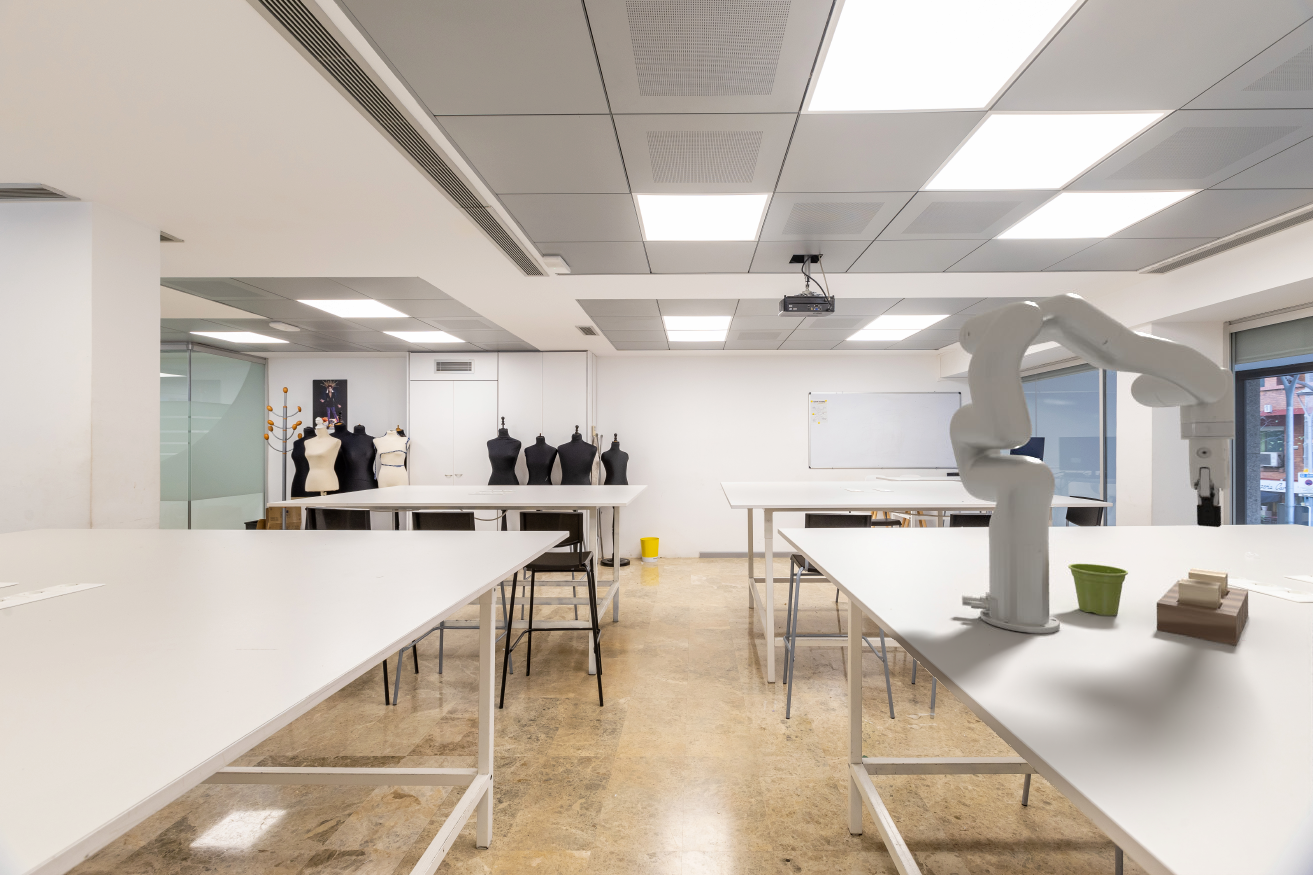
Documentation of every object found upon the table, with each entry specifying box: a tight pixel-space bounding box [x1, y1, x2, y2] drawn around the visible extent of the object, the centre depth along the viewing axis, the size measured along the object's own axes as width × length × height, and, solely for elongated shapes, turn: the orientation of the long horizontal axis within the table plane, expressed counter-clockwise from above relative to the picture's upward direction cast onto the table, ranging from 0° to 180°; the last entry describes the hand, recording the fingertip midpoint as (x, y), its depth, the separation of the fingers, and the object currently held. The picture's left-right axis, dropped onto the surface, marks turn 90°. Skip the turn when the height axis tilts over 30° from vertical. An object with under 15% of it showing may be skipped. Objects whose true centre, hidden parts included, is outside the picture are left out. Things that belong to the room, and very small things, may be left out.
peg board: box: [1156, 579, 1249, 646], centre depth 105 cm, size 24×10×5 cm, turn 130°
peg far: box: [1187, 567, 1229, 596], centre depth 109 cm, size 5×5×5 cm
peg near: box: [1178, 577, 1221, 609], centre depth 101 cm, size 5×5×5 cm
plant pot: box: [1068, 563, 1129, 617], centre depth 112 cm, size 9×9×9 cm
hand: (1209, 525), depth 109 cm, fingers closed
